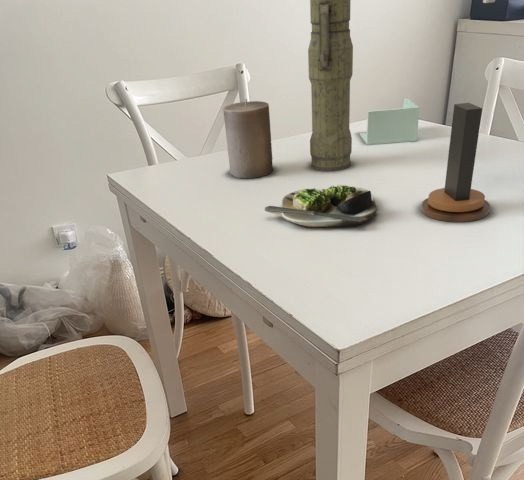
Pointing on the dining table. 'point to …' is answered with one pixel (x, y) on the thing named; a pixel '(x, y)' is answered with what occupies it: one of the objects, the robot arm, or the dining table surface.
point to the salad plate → (327, 207)
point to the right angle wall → (392, 124)
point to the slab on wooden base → (460, 163)
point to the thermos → (330, 84)
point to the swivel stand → (455, 213)
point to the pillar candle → (248, 139)
